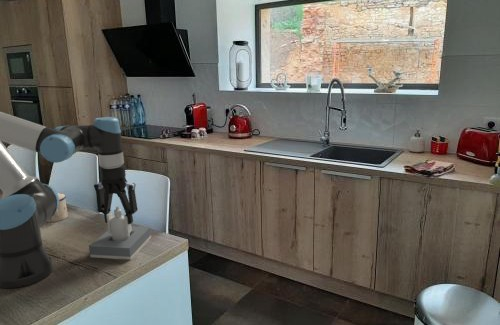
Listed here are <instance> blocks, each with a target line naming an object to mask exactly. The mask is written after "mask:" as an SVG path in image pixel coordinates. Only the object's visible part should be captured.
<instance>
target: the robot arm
mask: <svg viewBox="0 0 500 325" xmlns="http://www.w3.org/2000/svg"><path fill="white" fill-rule="evenodd" d="M120 125H121V124H120V120H119V119H118V118H117V117H115V116H105V117H104V116H103V117H97V118H95V119H94V120H93V124H88V125H87V124H86V125H85V124H81V125H69V124H67V125H61V126H56V127H55V128H54V129H53V128H50V127H47V126H44V125H42V124H40V123H36V122H32V121H30V120H27V119H24V118H20V117H18V116H14V115H12V114H8V113H6V112H3V111H0V190H1V191H2V197H1V198H0V288H3V289H17V288H21V287H22V288H23V287H26V286H30V285H32V284H35V283H37V282H39V281H41V280H43V279H45V278H47V277H48V276H49V275H50V274H51V273H52V272H53V270H54V263H53V260H52V258H51V257H50V256H49V254H48V252H47V250H46V249H45V247H44V244H43V240H42V233H41V228H43V226H44V225H45V224H46V223H48V222H47V221H48V220H49V219H50V218H52V216H53V215H54V214H55V212H56V211H57V209H58V206H59V197H58V194H57V193H58V192H57V190H56V189H54V187H52V186H51V185H49V184H46V183H42V182H41V180H40V179H39V178H38V177H37V176H32V175H29V174H28V173H27V171H26V170H25V169H24V168H23V166H22V165H21V164H20V163H19V161H18V160H17V159H16V158H15V156H14V155H13V154H12V153H11V152H10V151H9V149H8V148H7V147H6V146H5V145H4V143H6V144H9V145H12V146H16V147H19V148H23V149H25V150H29V151H31V152H34V153H38V154H41V156H42V157H43V159H45V160H46V161H48V162H49V163H53V164H55V163H61V162H64V161H66V160H70V158H71V157H72V156H73V155H74V154H76V153H78V152H79V151H81V150H89V149H90V150H91V149H92V150H93V149H94V150H95V149H97V154H98V155H97V156H98V164H99V167H100V168H99V170H100V178H101V182H99V181H98V182H97V183H95V184H93V188H94V190H95V193H96V194H95V196H96V205H97V212H98V213H99V214H100V213H101V214H102V215H104V216H103V217H104V222H105V224H107V231H109V233H111V225H110V220H111V218H112V217H114V211H113V212H112V209H111V207H112V201H113V196H114V195H116V196H117V197H118V198H119V201H120V203H121V206H122V207H123V211H124V213H125V214H124V215H123V216H124V220H125V229H126V234H129V233H130V232H131V231H132V227H131V226H132V223H133V222H134V217H133V216H134V214H135V213H136V212H138V203H137V196H136V191H135V190H136V185H137V184H136V183H135V182H133V183H131V182H128V180H127V178H126V174H127V173H126V166H125V164H124V163H125V157H124V150H123V149H124V148H123V141H122V130H121V126H120ZM104 189H105V194H104Z"/></svg>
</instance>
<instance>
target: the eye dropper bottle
mask: <svg viewBox="0 0 500 325" xmlns="http://www.w3.org/2000/svg"><path fill="white" fill-rule="evenodd" d="M110 225H111V233H112V240H113V241H125V240H126V239H127V238H128V237H129V236H130V233H129V234H126V229H125V220H124V215H123V210H122V209H121V208H120V207H119V206H118V205H116V206H115V209H114V211H113V217H112V218H111V220H110Z"/></svg>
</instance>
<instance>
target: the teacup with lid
mask: <svg viewBox="0 0 500 325" xmlns="http://www.w3.org/2000/svg"><path fill="white" fill-rule="evenodd" d="M57 194H58V197H59V206H58V209H57V211H56V212H55V214H54V215H53V216H52V218H50V219H49V220H48V221H47V222H46V223H55V222H59V221H63V220H65V219H66V218H68V215H69V214H68V209H67V202H66V195H65V194H63V193H59V192H57Z"/></svg>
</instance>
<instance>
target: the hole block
mask: <svg viewBox="0 0 500 325" xmlns="http://www.w3.org/2000/svg"><path fill="white" fill-rule="evenodd" d="M131 227H132V231H131V232H130V236H129V237H128V238H127V239H126V240H125V241H113V240H112V233H109V231H108V230H107V231H105V232H104V233H103V234H101V235H100V236H99V237H98V238H97V239H96V240H94V241H93V242H92V243H91V244H90V245H88V249H89V256H90V258H97V259H113V260H127V261H128V260H130V261H131V260H132V259H133V258H134V257H135V256H136V255H137V254H138V253H139V252H140V251H141V250H142V248H144V246H145V245H146V244H147V243H148V242H149V241H150V240H151V238H152V230H151V226H133V225H131Z"/></svg>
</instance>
